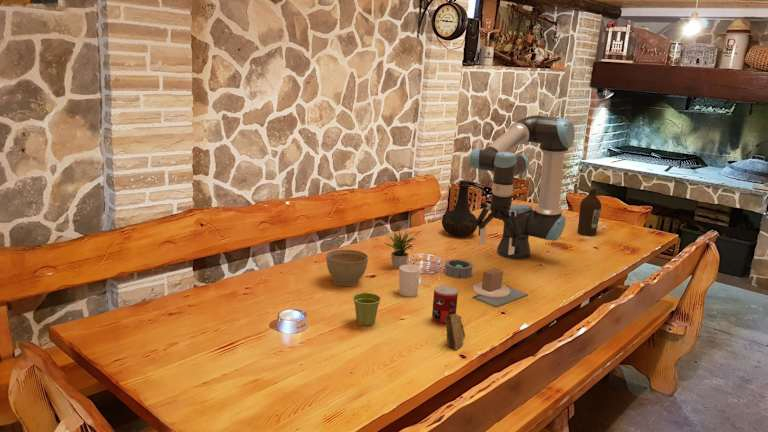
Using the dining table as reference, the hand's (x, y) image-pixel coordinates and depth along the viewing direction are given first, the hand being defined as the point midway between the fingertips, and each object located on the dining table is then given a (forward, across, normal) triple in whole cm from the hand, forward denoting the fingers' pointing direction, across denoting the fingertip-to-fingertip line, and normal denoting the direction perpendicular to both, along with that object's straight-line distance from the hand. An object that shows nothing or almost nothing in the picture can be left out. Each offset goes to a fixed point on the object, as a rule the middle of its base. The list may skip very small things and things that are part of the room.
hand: (496, 249), depth 234 cm
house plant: (+18, -39, -12) cm, 44 cm away
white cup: (+17, -18, -28) cm, 37 cm away
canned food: (+17, +6, -35) cm, 39 cm away
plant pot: (+17, -8, -58) cm, 61 cm away
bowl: (+18, -20, +3) cm, 27 cm away
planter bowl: (+17, -40, -40) cm, 59 cm away
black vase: (+19, -59, +49) cm, 79 cm away
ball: (+17, -20, +4) cm, 26 cm away
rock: (+17, +20, -44) cm, 51 cm away
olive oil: (+19, -23, +111) cm, 115 cm away
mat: (+17, 0, -1) cm, 17 cm away
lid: (+17, 0, -1) cm, 17 cm away
